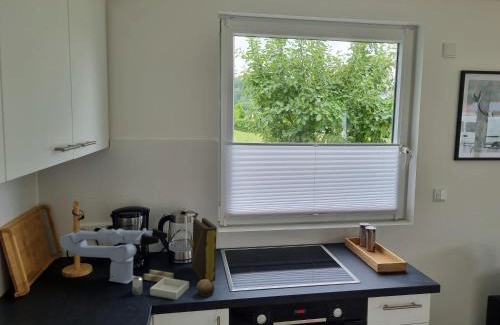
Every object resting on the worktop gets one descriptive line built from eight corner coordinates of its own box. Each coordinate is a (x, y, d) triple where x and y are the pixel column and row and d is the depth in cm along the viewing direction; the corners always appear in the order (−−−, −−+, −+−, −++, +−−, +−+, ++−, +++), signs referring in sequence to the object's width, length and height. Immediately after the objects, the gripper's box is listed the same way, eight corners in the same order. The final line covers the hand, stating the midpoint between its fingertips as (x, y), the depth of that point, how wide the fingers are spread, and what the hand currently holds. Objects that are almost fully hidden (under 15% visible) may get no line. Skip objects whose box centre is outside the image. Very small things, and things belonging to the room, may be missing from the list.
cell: (130, 294, 157) (130, 278, 156) (135, 290, 161) (136, 274, 160) (139, 295, 156) (139, 279, 155) (144, 291, 160) (144, 275, 159)
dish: (150, 295, 157) (150, 288, 156) (164, 284, 168) (164, 277, 168) (176, 299, 154) (176, 292, 153) (188, 288, 165) (188, 281, 165)
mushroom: (193, 282, 163) (199, 274, 160) (209, 287, 166) (216, 279, 163) (192, 298, 156) (199, 289, 154) (209, 303, 159) (216, 294, 157)
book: (218, 280, 174) (220, 227, 172) (201, 282, 171) (202, 229, 169) (204, 264, 194) (205, 216, 192) (188, 266, 191) (189, 217, 188)
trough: (143, 279, 172) (143, 274, 172) (150, 274, 178) (150, 269, 178) (167, 283, 169) (167, 278, 169) (173, 278, 175) (173, 273, 174)
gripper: (125, 232, 161) (153, 233, 157) (143, 224, 175) (170, 224, 171) (126, 248, 161) (154, 249, 158) (144, 239, 175) (171, 240, 171)
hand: (162, 237), depth 164 cm, fingers open, 7 cm apart
